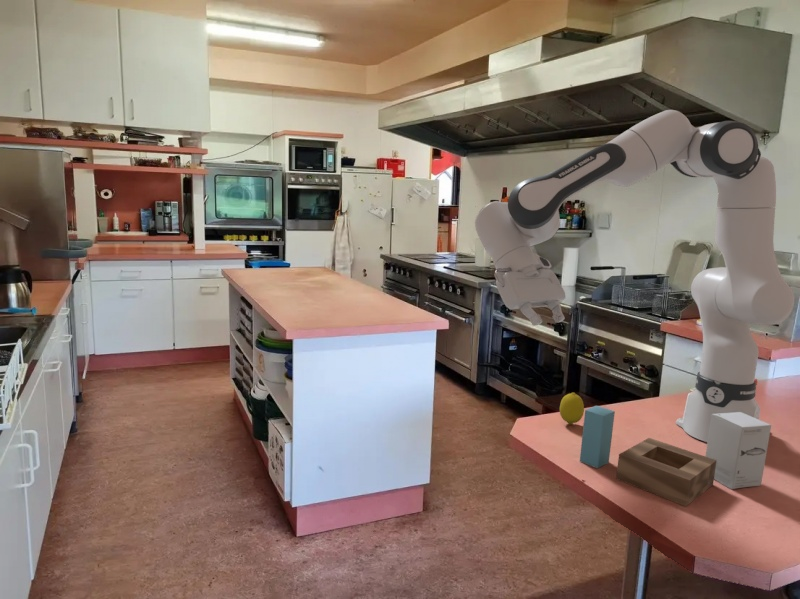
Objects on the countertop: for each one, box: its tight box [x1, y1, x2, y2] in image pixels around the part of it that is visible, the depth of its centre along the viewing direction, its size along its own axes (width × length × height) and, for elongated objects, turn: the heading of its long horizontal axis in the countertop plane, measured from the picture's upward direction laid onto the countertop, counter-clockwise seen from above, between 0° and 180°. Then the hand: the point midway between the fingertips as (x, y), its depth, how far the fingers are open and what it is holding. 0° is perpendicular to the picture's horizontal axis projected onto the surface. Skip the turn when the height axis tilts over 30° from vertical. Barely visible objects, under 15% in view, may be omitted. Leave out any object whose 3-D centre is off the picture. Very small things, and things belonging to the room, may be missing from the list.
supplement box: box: [704, 412, 772, 490], centre depth 112 cm, size 7×7×13 cm
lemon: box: [559, 392, 585, 426], centre depth 137 cm, size 6×6×8 cm
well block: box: [615, 437, 717, 508], centre depth 110 cm, size 13×13×5 cm
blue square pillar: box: [579, 405, 615, 469], centre depth 117 cm, size 4×4×11 cm
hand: (549, 322), depth 122 cm, fingers open, 8 cm apart
